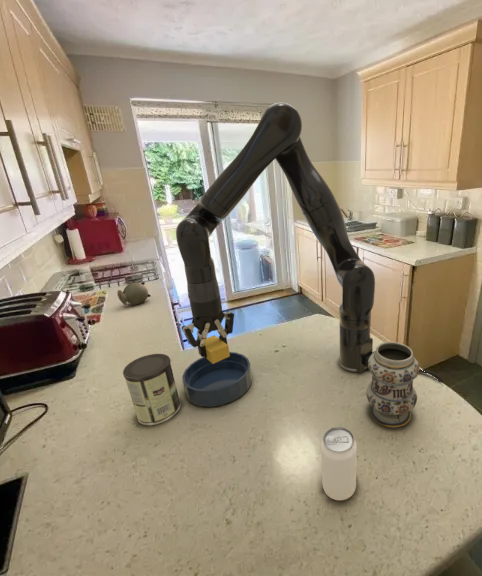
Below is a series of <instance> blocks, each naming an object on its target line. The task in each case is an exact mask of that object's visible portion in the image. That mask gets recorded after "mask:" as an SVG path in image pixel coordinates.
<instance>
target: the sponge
mask: <svg viewBox="0 0 482 576" xmlns="http://www.w3.org/2000/svg"><path fill="white" fill-rule="evenodd" d="M205 346H206V353H207V357H206V358H207V359H208V360H209V361H210V362H211V363H212V364H214V363H216V362H218V361H221V360H223V359H225V358H227V357H230V354H229V352H230V348H229V344H228V343H227V344H226V343H224V342H223V341H222V340H220V339H219V336H217V335H211V336H209V337H207V338H206V340H205Z"/></svg>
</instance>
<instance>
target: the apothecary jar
mask: <svg viewBox="0 0 482 576" xmlns="http://www.w3.org/2000/svg"><path fill="white" fill-rule="evenodd" d="M375 351H376V352H374V351H373V352H374V353H373V354H372V355H371V356H370V358H369V360H368V368H367V369H368V370H369V372H370V373H371V375H372V376H371V377H372V378H371V381H370V382H369V383H368V385H367V387H366V389H365V396H366V399H367V401H368V403H369V404H370V405H371V406H370V410H369V413H370V416H371V417H372V420H374V421H375V422H376V423H377V424H379V425H381V426H383V427H386V428H401V427H404V426H405V425H407V424H408V423H409V422H410V420H411V419H412V413H411V411H412V410H414V408H415V406H416V405H417V402H418V394H417V391H416V389H415V388H414V386H413V385H414V380H415V379H416V378H417V377H418V376H419V374H420V372H419V369H421V368H420V363H419V361H418V359H416V358H417V357H415V356H414V352H413V350H412V348H410V347H409V346H408V345H406V344H404V343H401V342H397V341H385V342H382V343H380V344H378V345H377V346H376V349H375Z"/></svg>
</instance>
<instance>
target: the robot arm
mask: <svg viewBox="0 0 482 576" xmlns="http://www.w3.org/2000/svg"><path fill="white" fill-rule="evenodd" d="M302 122H303V121H302V118H301V115H300V112H299V111H298V110H297V108H295V106H293V105H292V104H290V103H287V102H281V101H279V102H275V103H272V104H270V105H269V106H268V107H266V109H264V111H263V112H262V114H261V117H260V120H259V122H258V124H257V126H256V128H255V129H254V132H253V133H252V134H251V136H250V138H249V139H248V141H247V142H246V144H245V145H244V147H243V148H242V149H241V150H240V152H239V153H238V154H237V155H236V156H235V158H234V159H233V160H232V161H231V162H230V163H229V164H228V165H227V166H226V167H225V168H224V169H223V171H221V173H220V174H219V175H218V176H217V178H216V179H215V180H214V181H213V182H212V183H211V185H210V186H209V187H208V188H207V190H206V191H205V192H204V193H203V194H202V196H201V198H200V200H199V202H198V203H197V204H196V205H195V206H194V207H193V208H192V210H190V212H189V213H188V214H187V215H186V216H185V217H184V218H183V219H182V220H181V221H180V222H178V225H177V226H176V228H175V239H176V243H177V247H178V250H179V253H180V256H181V259H182V262H183V265H184V272H185V279H186V285H187V297H188V300H189V306H190V310H191V311H190V312H191V316H192V320H191V323H189V324H187V325H182V326H181V330H182V332H183V334H184V336H185V338H186V340H187V342H188V343H189V344H190V346H192V347H193V348H197V350H198V354H199V356H200V357H201V358H202V357H204V358H206V357H207V353H206V346H205V340H206V338H208V334H209V333H212V332H215V331H216V332H217V334H218V335H219V336H218V338H219V339H220V340H222V341H223V342H224V343H226V344H227V345H228V338H227V337H228V335H230V334H233V332H234V330H233V329H234V322H235V321H234V320H235V314H234V313H233V312H232V311H230V310H226V311H225V312H224V311H223V304H222V299H221V291H220V285H219V282H218V278H217V273H216V265H215V261H214V259H213V257H212V253H211V247H210V236H211V235H212V234H213V232H214V231H215V230H216V228H217V227H218V226H219V225H220V223H221V222H222V221H224V219H226V218H227V217H228V216H229V215H230V214H231V213H232V212H233V210H234V209H235V208H236V207H237V206H238V205H239V203H240V202H241V201H242V199H244V197H245V196H246V194H247V193H248V192H249V191H250V189H251V188H252V186H253V185H254V184H255V182H256V181H257V179H259V177H260V176H261V174H262V173H263V172H264V171H265V170H266V169H267V168H268V167H269V165H270V164H272V162H274V160H275V161H276V162H277V163H278V165H279V167H280V168H281V170H282V172H283V174H284V176H285V178H286V180H287V182H288V185H289V187H290V190H291V192H292V194H293V196H294V199H295V201H296V203H297V205H298V207H299V209H300V211H301V213H302V215H303V217H304V219H305V221H306V222H307V225H308V226H309V228H310V230H311V231H312V233H313V235H314V236H315V238H316V239H317V241H318V242H319V244H320V245H321V246H322V248H323V249H324V251H325V252H326V254H327V256H328V258H329V260H330V263H331V266H332V268H333V271H334V273H335V277H336V279H337V281H338V283H339V285H340V287H341V289H342V290H341V291H342V292H341V293H342V294H341V297H342V299H341V300H342V301H341V303H340V305H339V307H338V308H339V310H338V311H339V312H338V313H339V314H338V315H339V366H340V367H341V368H342V369H343V370H344V371H347V372H351V373H357V374H361V373H363V372H364V371H367V369H369V368H368V360H369V358H370V356H371V355H372V354H373V353H374V352H376V350H374V351H373V348H374V339H373V338H372V337H371V322H372V321H371V318H372V309H373V308H374V303H375V292H376V291H375V290H376V278H375V277H376V276H375V274H374V273H375V272H374V271H373V270H372V268H371V267H370V266H369V265H367V264H366V263H365V262H364V261H363V260H362V259H361V258H360V257H359V254H358V253H357V251H356V250H355V248H354V247H353V244H352V243H351V240H350V238H349V235H348V231H347V226H346V222H345V218H344V215H343V211H342V210H341V208H340V205H339V203H338V201H337V199H336V196H335V195H334V193H333V191H332V189H331V188H330V186H329V184H328V183H327V181H326V180H325V179H324V177H323V176H322V175H321V174H320V172H319V171H318V169H316V167H315V165H314V164H313V163H312V161H311V159H310V157H309V155H308V153H307V151H306V148H305V146H304V144H303V140H302V138H301V135H302V131H303V123H302ZM223 320H224V327H223V325H222V322H223ZM194 328H195V329H197V331H196V339H195V336H194V334H193V333H194ZM421 369H422V368H420V369H419V374H420V373H423V374H427V373H428V374H427V375H430V376H431V377H434V378H435V379H436V380H437V381H439V382H440V383H445V381H444V380H443V378H442V377H441V376H440V375H439V374H437V373H435V372H434V371H433V370H432V371H431V370H429V369H422V370H423V371H422V370H421ZM424 371H425V372H424Z"/></svg>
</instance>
